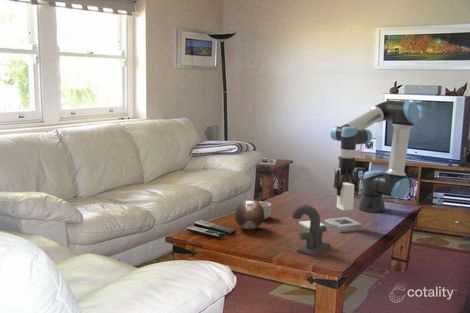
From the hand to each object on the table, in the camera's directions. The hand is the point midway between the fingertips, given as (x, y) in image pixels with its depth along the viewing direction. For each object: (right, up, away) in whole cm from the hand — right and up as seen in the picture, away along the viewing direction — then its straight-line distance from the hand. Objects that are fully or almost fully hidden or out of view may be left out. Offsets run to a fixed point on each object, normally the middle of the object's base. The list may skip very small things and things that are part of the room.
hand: (345, 201), depth 270 cm
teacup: (-43, -10, +17) cm, 47 cm away
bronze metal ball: (-50, -14, -5) cm, 52 cm away
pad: (-16, -13, +4) cm, 21 cm away
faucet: (-24, -19, -30) cm, 43 cm away
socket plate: (0, -14, +2) cm, 14 cm away
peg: (0, -4, +1) cm, 4 cm away
